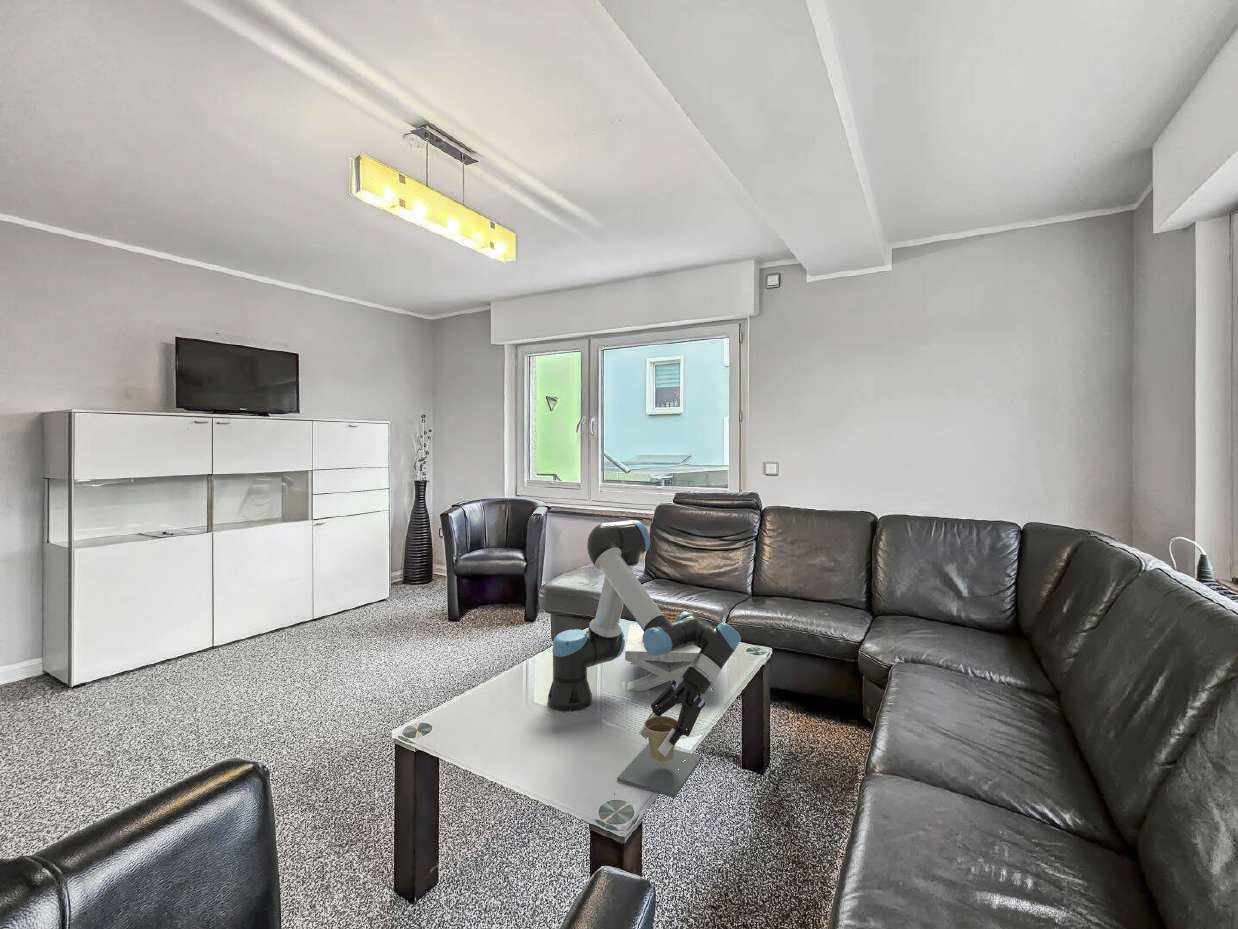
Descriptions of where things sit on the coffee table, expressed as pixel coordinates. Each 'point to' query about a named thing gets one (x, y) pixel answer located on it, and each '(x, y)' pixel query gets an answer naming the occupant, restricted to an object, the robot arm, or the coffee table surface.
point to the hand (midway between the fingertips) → (651, 744)
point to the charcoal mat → (660, 772)
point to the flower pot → (659, 735)
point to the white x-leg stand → (657, 659)
